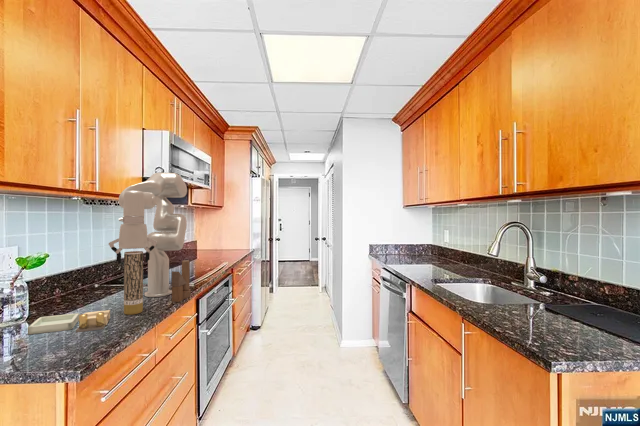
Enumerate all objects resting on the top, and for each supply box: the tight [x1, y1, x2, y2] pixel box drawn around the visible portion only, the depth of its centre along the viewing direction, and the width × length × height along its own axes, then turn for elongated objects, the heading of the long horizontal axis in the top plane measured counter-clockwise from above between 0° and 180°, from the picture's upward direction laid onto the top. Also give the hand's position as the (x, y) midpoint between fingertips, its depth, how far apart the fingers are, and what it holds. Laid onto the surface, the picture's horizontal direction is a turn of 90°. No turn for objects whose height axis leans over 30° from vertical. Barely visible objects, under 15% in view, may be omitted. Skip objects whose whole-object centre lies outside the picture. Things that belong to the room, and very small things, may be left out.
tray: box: [27, 312, 81, 336], centre depth 118 cm, size 12×12×2 cm
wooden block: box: [171, 259, 192, 303], centre depth 156 cm, size 4×11×18 cm, turn 173°
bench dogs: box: [75, 312, 106, 333], centre depth 116 cm, size 4×8×5 cm, turn 116°
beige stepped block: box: [84, 309, 111, 326], centre depth 122 cm, size 9×8×4 cm
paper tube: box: [123, 250, 144, 316], centre depth 134 cm, size 7×7×25 cm
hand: (133, 262), depth 134 cm, fingers open, 9 cm apart
